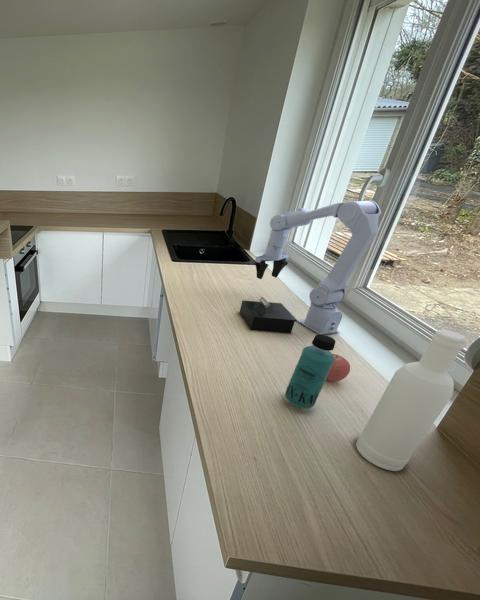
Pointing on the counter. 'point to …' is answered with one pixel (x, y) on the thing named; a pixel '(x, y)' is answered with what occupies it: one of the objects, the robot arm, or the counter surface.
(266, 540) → the counter surface
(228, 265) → the counter surface
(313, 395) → the beverage bottle
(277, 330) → the black square box
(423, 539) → the counter surface
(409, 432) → the bottle
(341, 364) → the apple
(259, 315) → the lid
